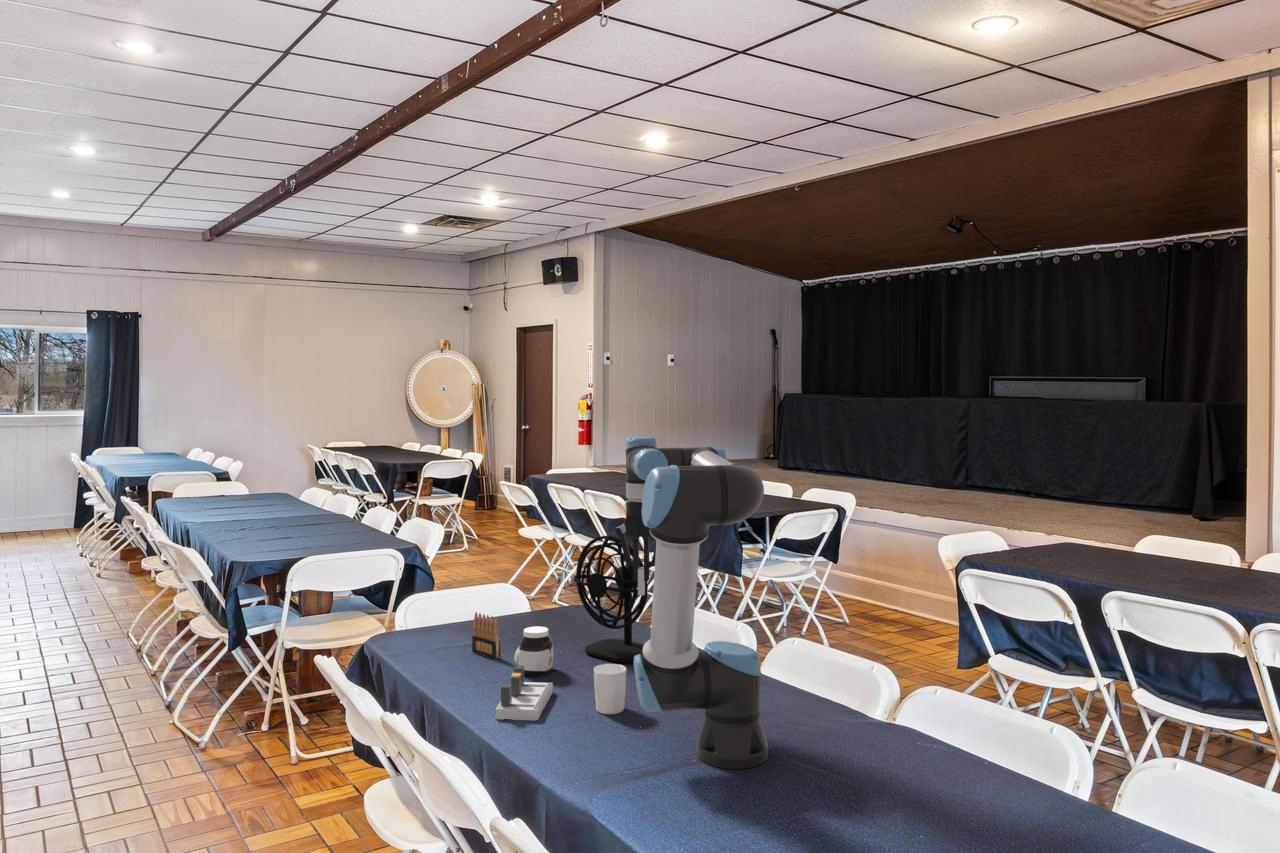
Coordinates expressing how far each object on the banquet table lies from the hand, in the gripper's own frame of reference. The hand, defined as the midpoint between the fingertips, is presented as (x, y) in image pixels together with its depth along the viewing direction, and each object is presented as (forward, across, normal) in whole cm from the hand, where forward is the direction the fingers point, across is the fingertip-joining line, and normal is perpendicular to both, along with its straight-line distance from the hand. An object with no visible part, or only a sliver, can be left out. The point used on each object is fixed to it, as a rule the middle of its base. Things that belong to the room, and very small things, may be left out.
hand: (641, 594), depth 224 cm
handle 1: (+24, +31, +14) cm, 41 cm away
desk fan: (+27, +10, -36) cm, 46 cm away
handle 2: (+24, +31, 0) cm, 39 cm away
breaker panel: (+26, +28, +7) cm, 39 cm away
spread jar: (+27, +32, -20) cm, 46 cm away
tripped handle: (+24, +30, +7) cm, 39 cm away
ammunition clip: (+27, +48, -32) cm, 64 cm away
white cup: (+27, +7, +8) cm, 29 cm away
